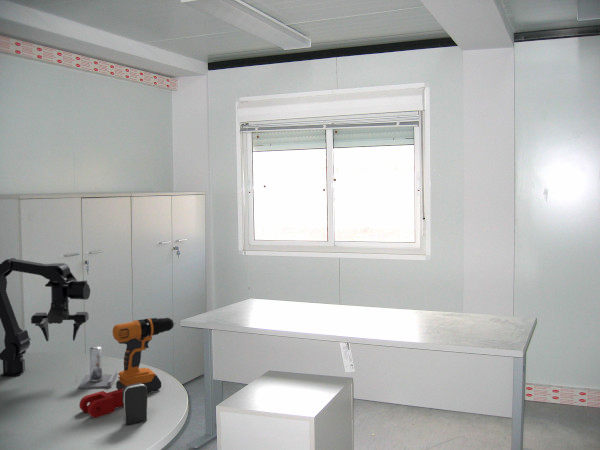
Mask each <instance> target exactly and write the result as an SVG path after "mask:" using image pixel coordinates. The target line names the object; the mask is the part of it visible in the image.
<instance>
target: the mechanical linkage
mask: <svg viewBox="0 0 600 450" xmlns="http://www.w3.org/2000/svg"><path fill="white" fill-rule="evenodd" d="M122 391H123V388H122V389H119V390H118V389H116V390H113V391H109V392H106V391H104V390H101V391H98V392H95V393H91V394H87V395H85V396H83V397H81V399H80V400H79V409H80V410H81V411H82V412H84V413H86V414H87V413H88V415H89V416H90V417H92V418H94V419H95V418H99V417H103V416H105V415H108V414H112V413H115V409H118V408H121V407H124V404H123V403H122ZM117 407H118V408H117Z"/></svg>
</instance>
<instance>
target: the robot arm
mask: <svg viewBox="0 0 600 450" xmlns="http://www.w3.org/2000/svg"><path fill="white" fill-rule="evenodd" d="M12 272H19V273H23V274H24V273H25V274H31V275H38V276H41V277H43V278H44V279H46V280H49V281H48V282H47V283H45V285H44V286H45V287H46V288H47V287H49V288H50V291H51V292H50V293H51V294H50V297H51V300H50V301H51V303H50V308H49V310H48V313H47V312H35V313H34V314H33V315H32V316H31V319H30V324H32V325H34V326H36V327H39V329H41V331H42V333H43V336H44V338H45V341H46V342H49V339H50V335H49V334H50V333H49V325H52V324H59V325H60V324H62V323H63V322H64V321H74V323H73V325H72V326H73V331H72V333H73V334H72V341H73V342H74V341H76V337H77V335H78V332H79V329H80V327H81V325H83V324H86V323H87V322H88V320H89V312H88V311H77V312H76V313H75V314H70V310H69V307H70V306H69V303H70V300H85V301H86V300H88V299H89V298H90V295H91V288H90V287H91V286H90V285H89V284H88V280H77V277H75V275H74V274H73V272H72V271H71V268H70V267H69V264H67V263H64V262H61V263H60V262H59V263H58V262H55V263H53V262H52V263H41V262H34V261H31V260H30V261H29V260H24V259H23V260H22V259H17V258H14V257H12V258H8V259H7V258H6V259H5V260H3V261H2V262H0V322H1V325H2V329H3V331H4V340H3V343H4V349H3V350H1V352H0V361H2V374H0V375H1V377H9V376H13V377H15V376H22V374H23V373H24V372H25V371H26V360H25V359H24V355H25V354H26V352H27V350H28V349H29V347H30V345H31V342H30V341H31V338H30V336H29V332H28V330H27V329H25V330H23V329H21V328H20V326H19V323H18V321H17V318H16V315H15V313H14V309H13V306H12V304H11V300H10V299H9V296H8V293H7V288H8V287H7V285H8V279H7V277H8V276H9V275H11V273H12Z"/></svg>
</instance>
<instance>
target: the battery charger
mask: <svg viewBox="0 0 600 450" xmlns="http://www.w3.org/2000/svg"><path fill="white" fill-rule="evenodd" d="M122 403H123V404H124V406H123V424H124V425H126V426H129V425H134V424H138V423H143V422H145V421H147V420H148V393H147V388H146V386H145V385H143V384H142V383H137V384H131V385H127V386H125V387H124V388H123V391H122Z"/></svg>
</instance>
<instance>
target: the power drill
mask: <svg viewBox="0 0 600 450" xmlns="http://www.w3.org/2000/svg"><path fill="white" fill-rule="evenodd" d="M173 320H174V319H172V318H170V317H163V318H162V317H160V318H157V317H153V318H151V317H150V318H144V319H136V320H132V321H129V322H124V323H119V324H115V325H114V326H113V327H112V336H113V339H114V340H116V342H117V343H118V344H120V345H122V344H124V345H126V349H125V352H124V357H123V370H122V371H119V372H117V376H118V380H117V381H116V382H115V388H116V390H119V389H122V388H124V387H125V386H127V385H131V384H137V383H142V384H143V385H145V386H146V388H147V394H150V393H154V392H158V391H159V390H160V389H161V388H162V381H161V380H160V378H159V376H158V375H157V374H156V372H154V371H153V370H152V369H150V368H149V367H147V368H146V367H142V368H141V367H140V364H141V361H142V360H141V358H142V352H143V351H145V350H146V349H149V348H150V347H149V342H151V341H152V340H153V336H156V335H159V334H161V333H164V332H170V331H171V330H172V329H173V328H174V326H175V324H176V321H173ZM149 392H150V393H149Z"/></svg>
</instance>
